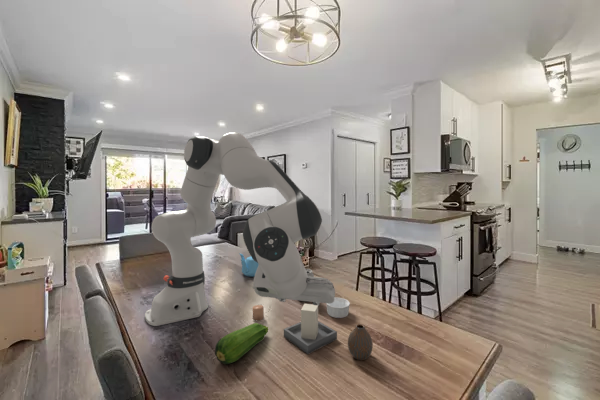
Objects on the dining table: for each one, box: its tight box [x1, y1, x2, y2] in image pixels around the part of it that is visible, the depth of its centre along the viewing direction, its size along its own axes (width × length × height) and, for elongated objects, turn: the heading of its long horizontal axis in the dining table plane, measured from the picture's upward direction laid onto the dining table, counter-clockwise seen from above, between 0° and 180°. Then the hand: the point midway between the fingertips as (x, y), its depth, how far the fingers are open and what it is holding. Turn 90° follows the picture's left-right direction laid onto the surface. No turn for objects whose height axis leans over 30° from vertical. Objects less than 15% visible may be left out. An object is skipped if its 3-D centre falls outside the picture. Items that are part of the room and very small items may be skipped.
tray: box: [283, 320, 338, 355], centre depth 90 cm, size 12×12×2 cm
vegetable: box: [214, 322, 269, 365], centre depth 84 cm, size 7×7×20 cm
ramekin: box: [325, 297, 351, 319], centre depth 107 cm, size 9×9×4 cm
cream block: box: [300, 303, 319, 340], centre depth 90 cm, size 4×4×9 cm
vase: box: [347, 324, 374, 361], centre depth 81 cm, size 7×7×9 cm
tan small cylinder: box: [252, 304, 265, 322], centre depth 104 cm, size 4×4×4 cm
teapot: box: [238, 252, 259, 278], centre depth 152 cm, size 15×15×10 cm
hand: (299, 300), depth 77 cm, fingers open, 8 cm apart
